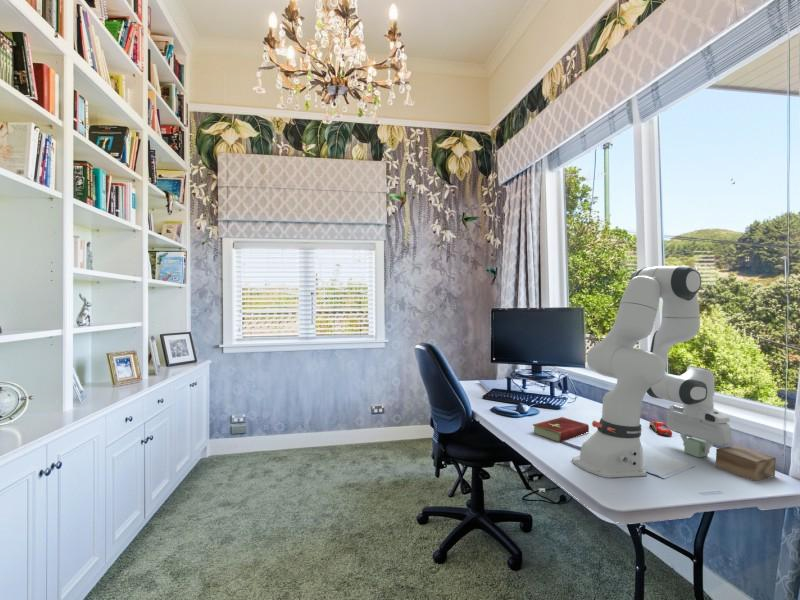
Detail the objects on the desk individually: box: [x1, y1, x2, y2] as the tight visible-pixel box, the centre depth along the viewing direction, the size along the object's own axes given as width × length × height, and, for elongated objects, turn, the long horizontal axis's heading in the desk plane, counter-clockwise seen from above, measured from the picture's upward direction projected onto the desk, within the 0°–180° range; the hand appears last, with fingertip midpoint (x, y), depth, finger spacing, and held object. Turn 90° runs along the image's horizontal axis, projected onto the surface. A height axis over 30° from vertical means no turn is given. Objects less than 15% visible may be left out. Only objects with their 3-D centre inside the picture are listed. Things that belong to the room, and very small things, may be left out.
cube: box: [683, 436, 709, 458], centre depth 146 cm, size 5×5×5 cm
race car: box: [649, 420, 673, 437], centre depth 171 cm, size 13×5×4 cm, turn 165°
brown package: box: [715, 445, 777, 482], centre depth 132 cm, size 11×11×6 cm
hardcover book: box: [532, 416, 590, 443], centre depth 164 cm, size 12×21×4 cm, turn 127°
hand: (696, 449), depth 146 cm, fingers closed on cube, 5 cm apart
